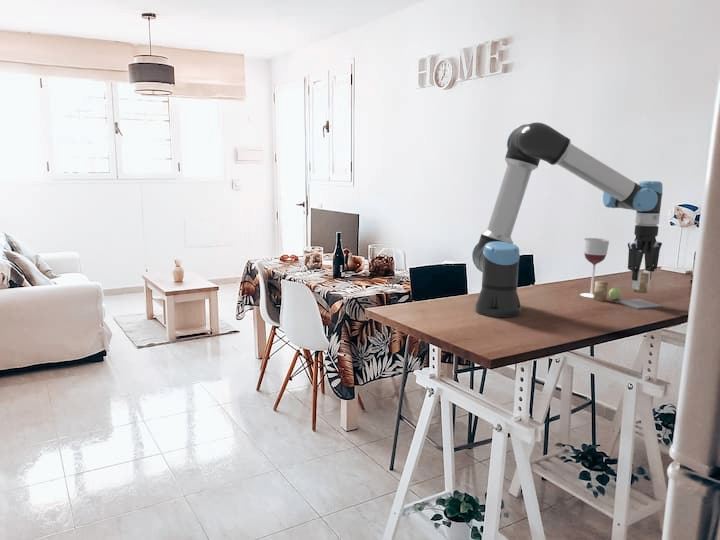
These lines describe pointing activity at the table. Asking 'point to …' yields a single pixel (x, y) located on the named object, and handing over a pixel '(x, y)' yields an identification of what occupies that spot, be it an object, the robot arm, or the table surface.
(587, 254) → the wineglass
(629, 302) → the coaster
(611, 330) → the table surface
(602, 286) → the cork
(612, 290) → the lime
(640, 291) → the cork
